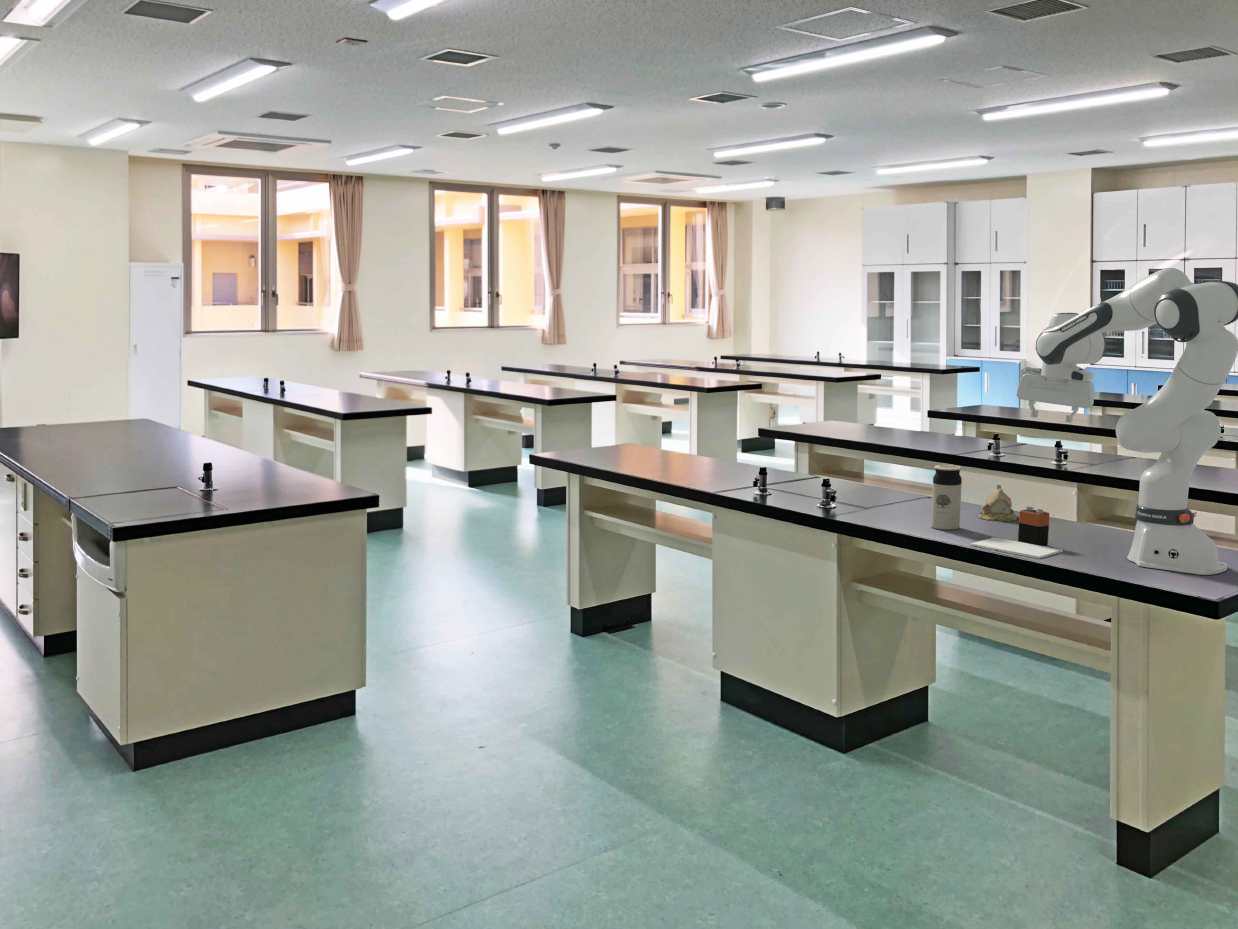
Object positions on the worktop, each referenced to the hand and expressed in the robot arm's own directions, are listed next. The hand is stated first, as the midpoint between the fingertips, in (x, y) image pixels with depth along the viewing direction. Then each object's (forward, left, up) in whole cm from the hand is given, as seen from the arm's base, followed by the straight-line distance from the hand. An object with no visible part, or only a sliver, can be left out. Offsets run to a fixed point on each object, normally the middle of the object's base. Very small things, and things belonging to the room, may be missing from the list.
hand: (1051, 419), depth 308 cm
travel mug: (+23, +15, -33) cm, 43 cm away
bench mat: (-5, +25, -33) cm, 41 cm away
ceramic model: (+22, -11, -33) cm, 41 cm away
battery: (-5, +16, -33) cm, 37 cm away
